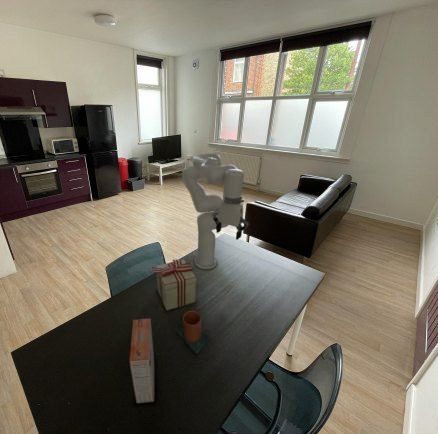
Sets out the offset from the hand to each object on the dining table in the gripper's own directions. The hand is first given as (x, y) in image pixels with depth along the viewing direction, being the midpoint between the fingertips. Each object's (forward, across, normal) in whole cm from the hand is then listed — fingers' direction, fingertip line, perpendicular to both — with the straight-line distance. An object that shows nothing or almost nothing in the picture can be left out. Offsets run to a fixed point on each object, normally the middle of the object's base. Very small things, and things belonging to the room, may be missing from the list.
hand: (228, 234), depth 107 cm
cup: (+28, -4, +33) cm, 44 cm away
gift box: (+30, +16, +20) cm, 40 cm away
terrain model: (+30, -4, +33) cm, 45 cm away
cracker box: (+30, -2, +56) cm, 64 cm away
